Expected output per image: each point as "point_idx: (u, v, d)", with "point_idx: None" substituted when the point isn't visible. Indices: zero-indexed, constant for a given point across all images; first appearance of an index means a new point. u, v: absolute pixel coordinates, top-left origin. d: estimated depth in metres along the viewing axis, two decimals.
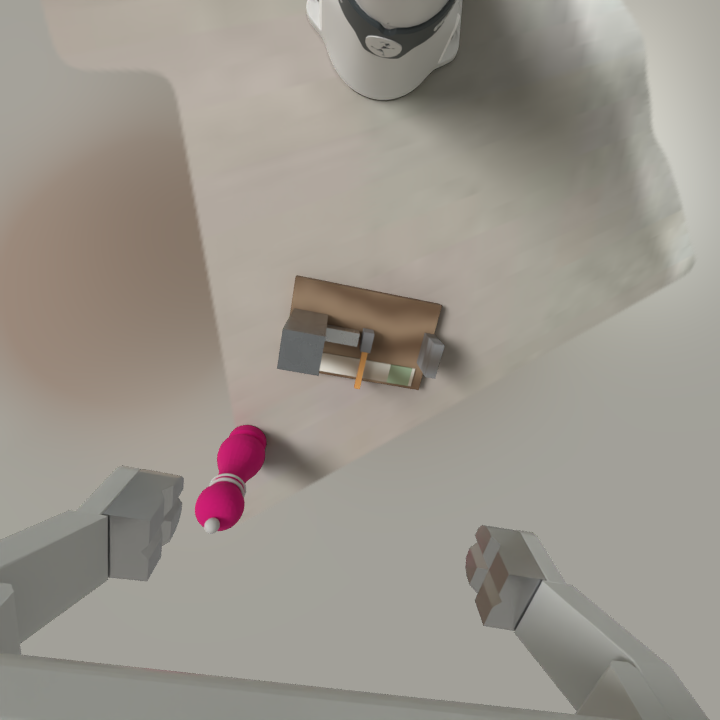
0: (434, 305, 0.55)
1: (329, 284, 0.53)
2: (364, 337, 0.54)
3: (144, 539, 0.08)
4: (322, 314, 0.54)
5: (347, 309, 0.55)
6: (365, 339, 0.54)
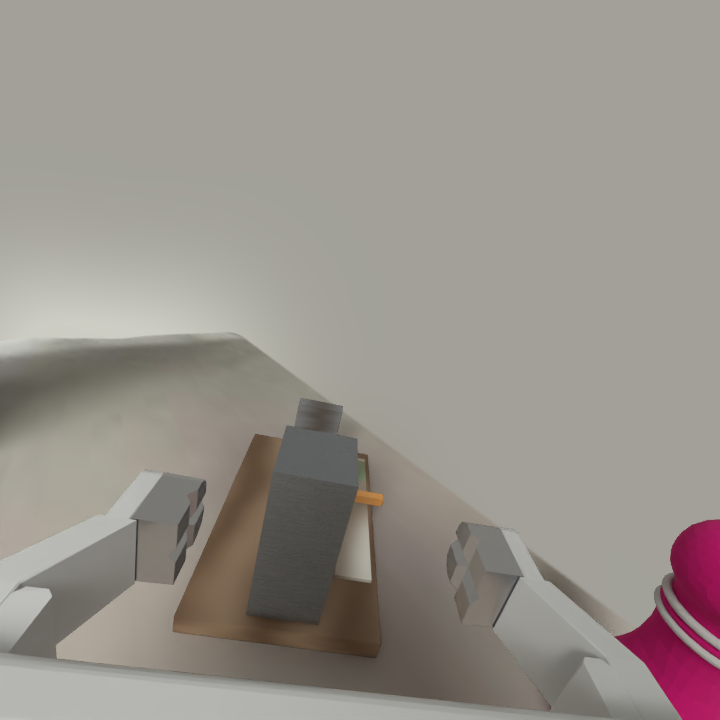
0: (254, 439, 0.44)
1: (204, 553, 0.29)
2: None
3: (171, 543, 0.08)
4: None
5: (254, 527, 0.32)
6: None
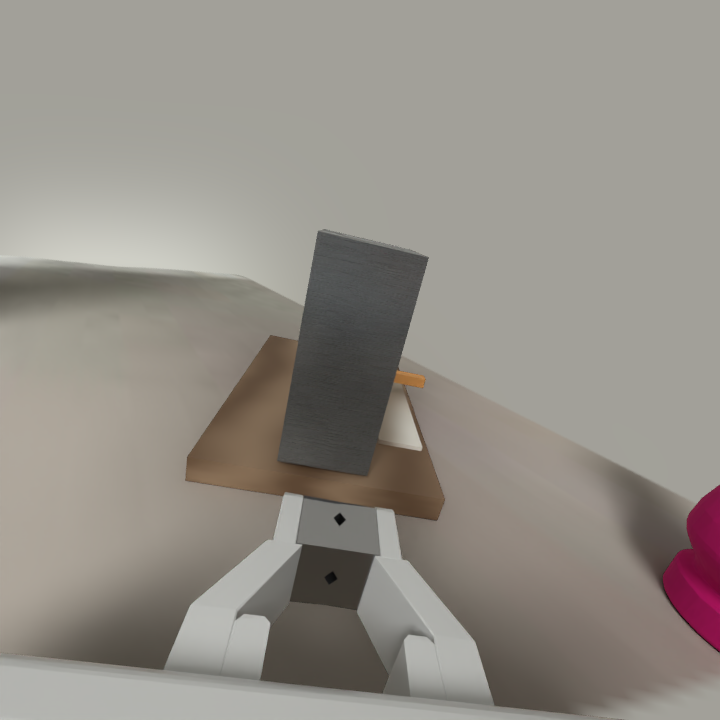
0: (270, 338, 0.39)
1: (221, 411, 0.24)
2: None
3: (329, 566, 0.08)
4: None
5: (278, 398, 0.27)
6: None
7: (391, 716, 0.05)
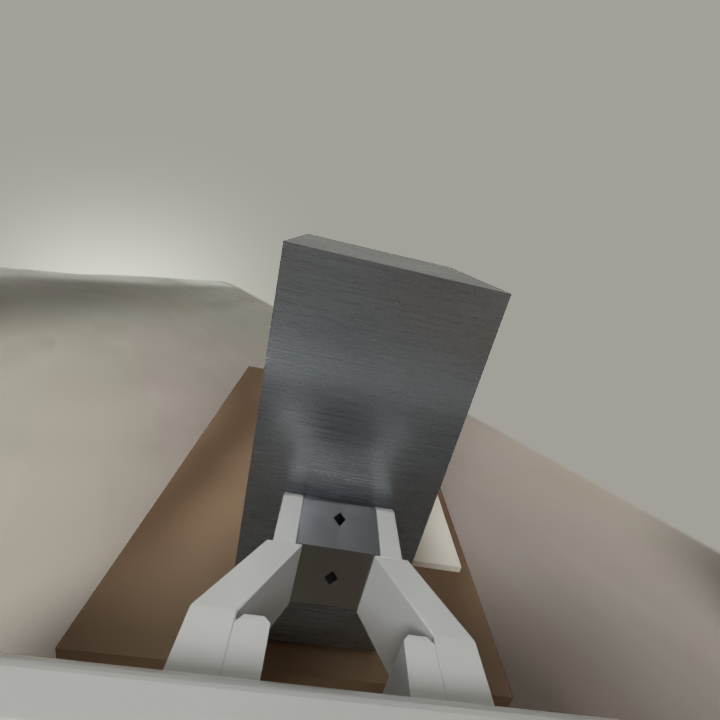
0: (247, 371, 0.30)
1: (148, 519, 0.15)
2: None
3: (329, 566, 0.08)
4: None
5: (246, 479, 0.18)
6: None
7: (391, 716, 0.05)
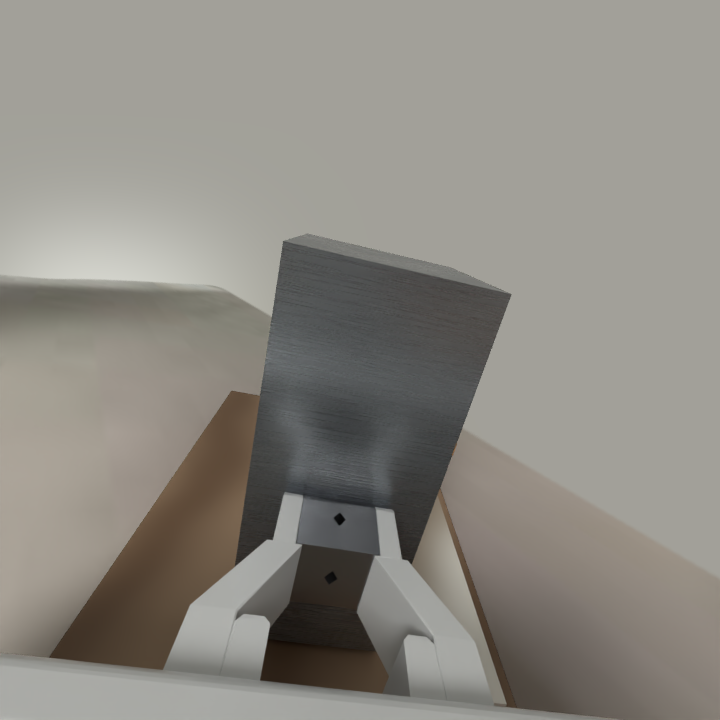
0: (229, 398, 0.25)
1: (62, 647, 0.11)
2: None
3: (329, 566, 0.08)
4: None
5: (212, 563, 0.14)
6: None
7: (391, 716, 0.05)
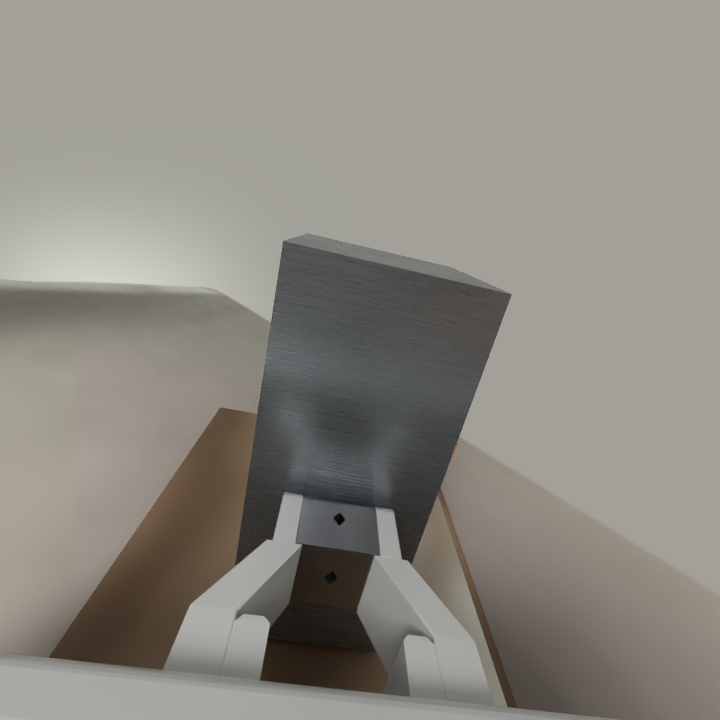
0: (217, 416, 0.23)
1: None
2: None
3: (329, 566, 0.08)
4: None
5: None
6: None
7: (391, 716, 0.05)
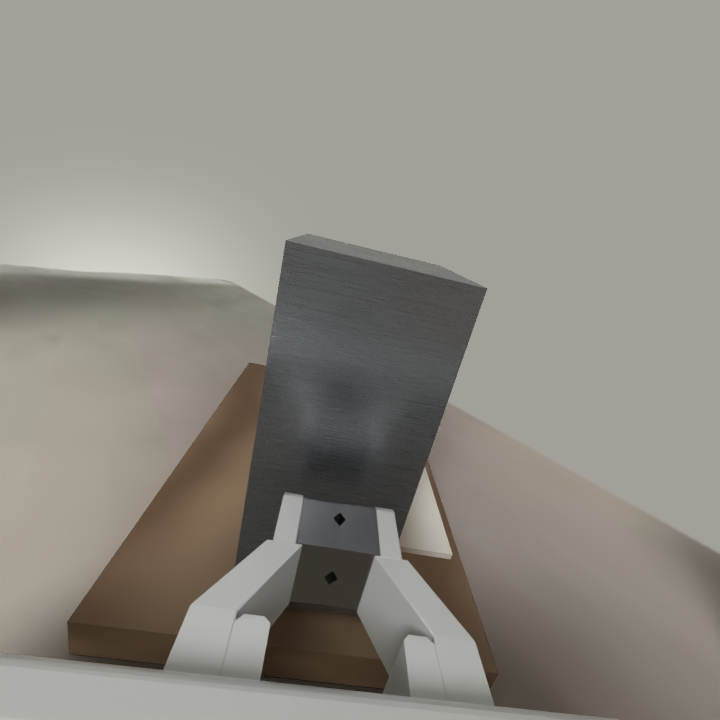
0: (248, 367, 0.31)
1: (153, 505, 0.16)
2: None
3: (329, 566, 0.08)
4: None
5: (246, 470, 0.19)
6: None
7: (391, 716, 0.05)
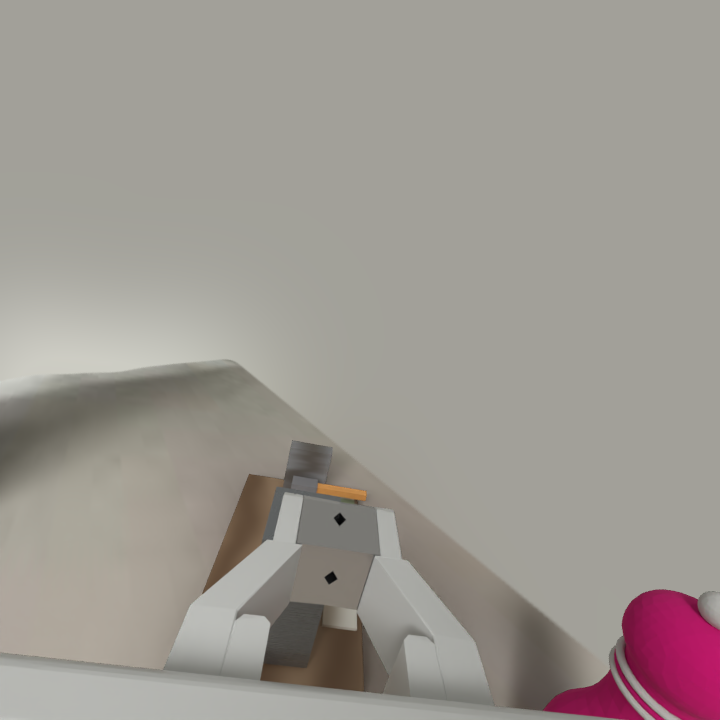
0: (248, 480, 0.46)
1: None
2: (298, 484, 0.43)
3: (329, 565, 0.08)
4: None
5: None
6: (300, 483, 0.43)
7: (391, 716, 0.05)
